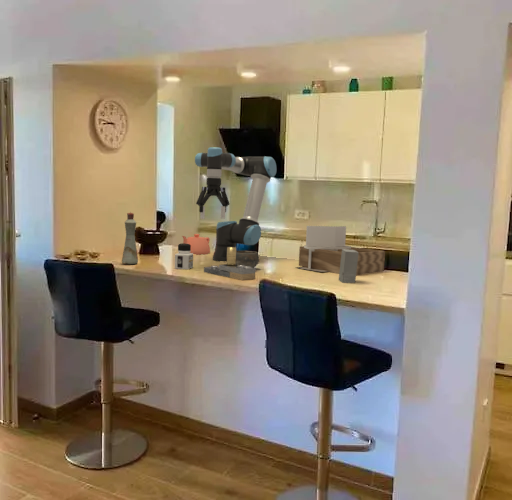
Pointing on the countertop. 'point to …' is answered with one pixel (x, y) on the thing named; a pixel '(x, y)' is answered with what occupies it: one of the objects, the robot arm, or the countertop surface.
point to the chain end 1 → (216, 271)
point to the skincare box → (348, 266)
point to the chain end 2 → (239, 271)
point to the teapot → (198, 244)
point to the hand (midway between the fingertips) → (212, 218)
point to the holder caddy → (332, 259)
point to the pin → (231, 256)
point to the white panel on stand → (324, 240)
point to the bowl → (247, 258)
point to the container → (184, 257)
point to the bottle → (130, 241)
